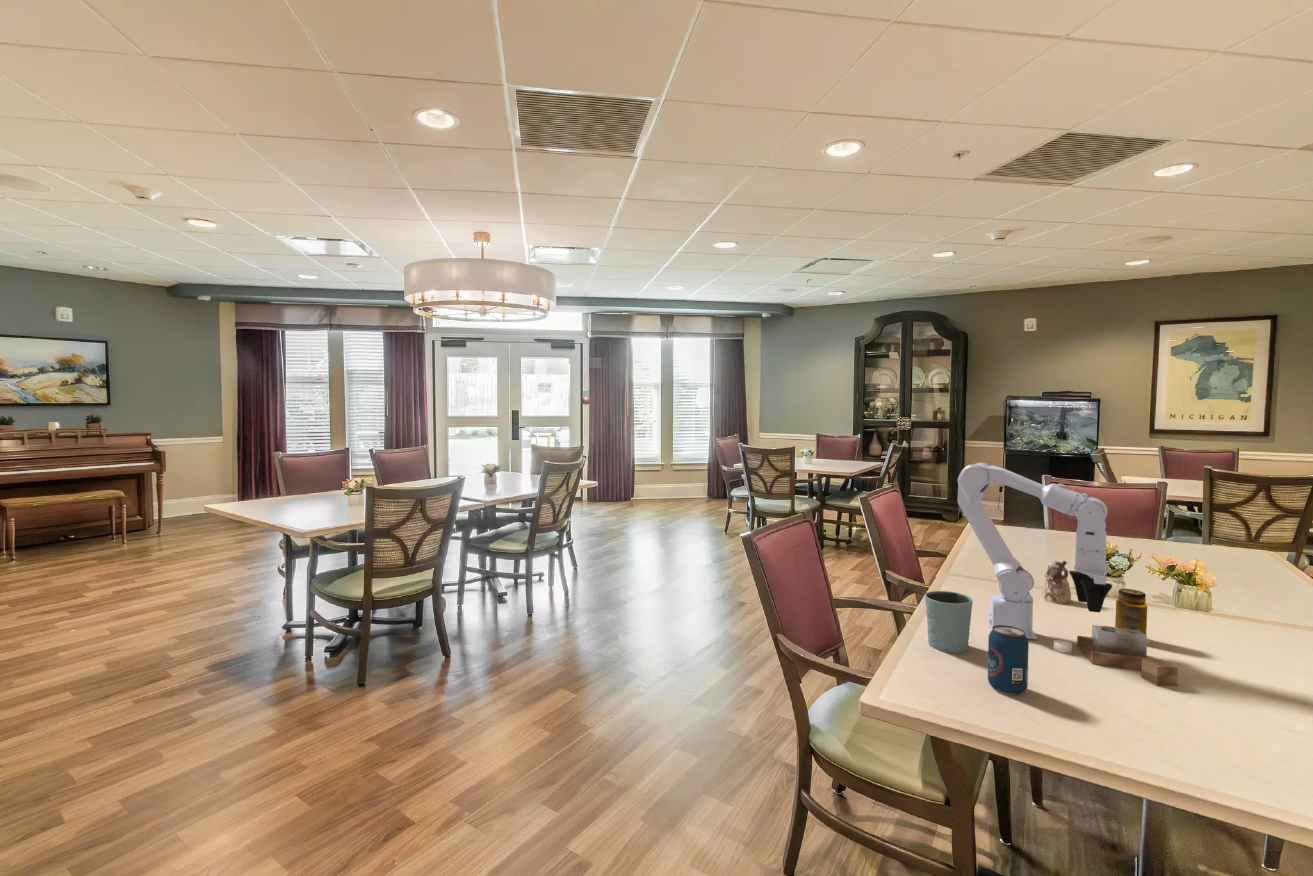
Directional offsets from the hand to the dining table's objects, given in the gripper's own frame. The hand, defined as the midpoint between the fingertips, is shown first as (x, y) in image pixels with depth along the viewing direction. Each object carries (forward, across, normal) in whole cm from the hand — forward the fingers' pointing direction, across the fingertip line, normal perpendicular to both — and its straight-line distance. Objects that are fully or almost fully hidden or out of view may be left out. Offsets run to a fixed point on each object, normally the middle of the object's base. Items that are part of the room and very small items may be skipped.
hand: (1088, 606), depth 140 cm
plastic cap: (+10, -4, +6) cm, 12 cm away
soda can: (+10, -31, +22) cm, 39 cm away
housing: (+9, -5, -4) cm, 11 cm away
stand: (+10, -5, -4) cm, 12 cm away
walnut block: (+10, -16, -8) cm, 20 cm away
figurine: (+10, +40, -3) cm, 41 cm away
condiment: (+10, +10, -11) cm, 18 cm away
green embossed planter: (+10, -11, +31) cm, 34 cm away
